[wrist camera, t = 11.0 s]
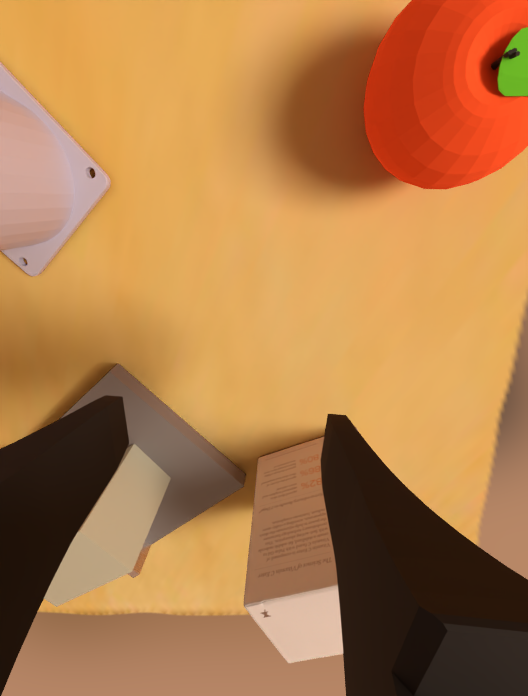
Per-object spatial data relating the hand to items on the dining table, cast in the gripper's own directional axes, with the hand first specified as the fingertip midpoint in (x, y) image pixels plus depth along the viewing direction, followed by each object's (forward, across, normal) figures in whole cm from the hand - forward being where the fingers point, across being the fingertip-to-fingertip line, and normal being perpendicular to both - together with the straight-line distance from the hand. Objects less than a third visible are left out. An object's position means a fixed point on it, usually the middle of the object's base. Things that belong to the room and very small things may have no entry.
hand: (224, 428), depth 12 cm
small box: (+11, -6, +11) cm, 17 cm away
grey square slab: (+10, +9, +12) cm, 18 cm away
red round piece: (+11, -8, -12) cm, 18 cm away
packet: (+9, +10, +13) cm, 19 cm away
